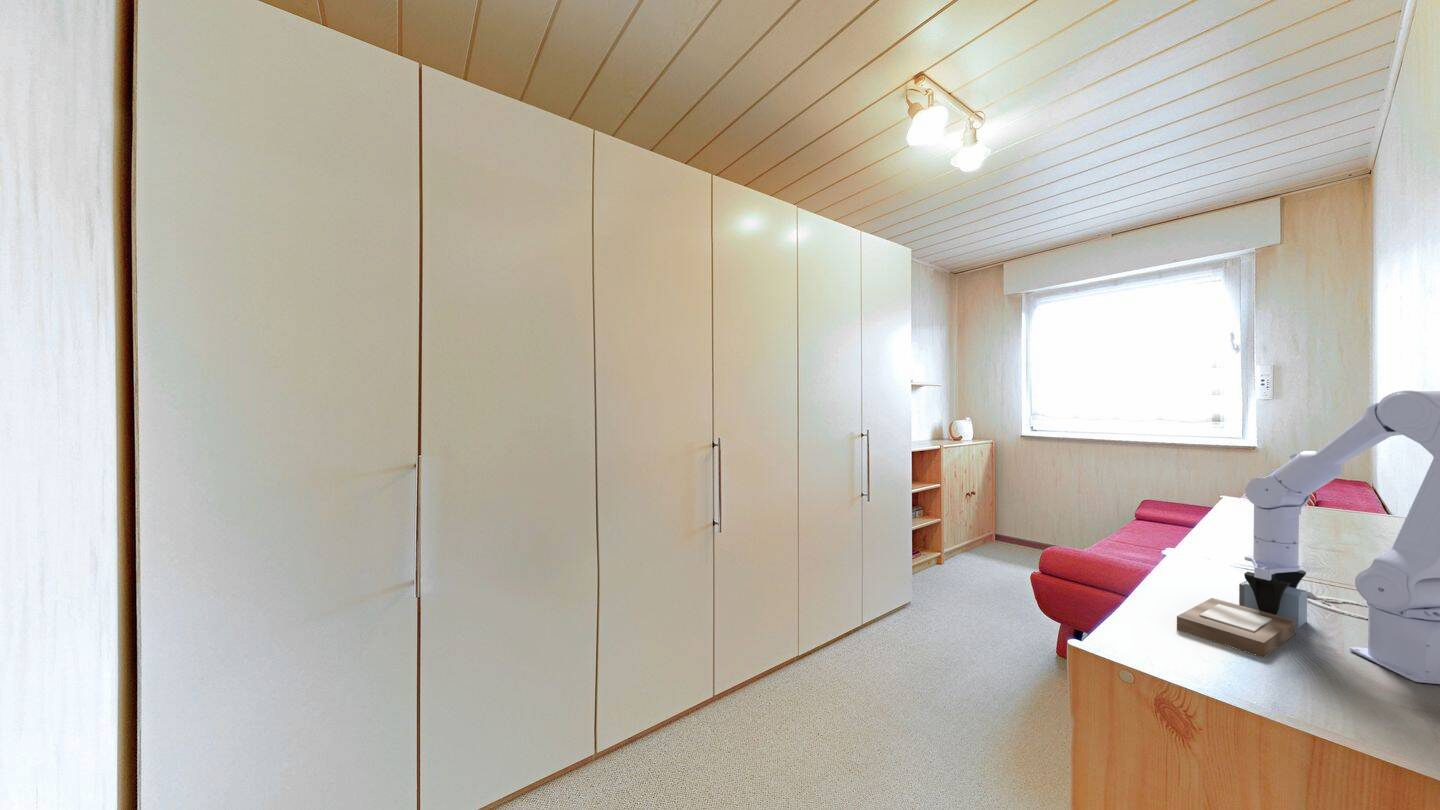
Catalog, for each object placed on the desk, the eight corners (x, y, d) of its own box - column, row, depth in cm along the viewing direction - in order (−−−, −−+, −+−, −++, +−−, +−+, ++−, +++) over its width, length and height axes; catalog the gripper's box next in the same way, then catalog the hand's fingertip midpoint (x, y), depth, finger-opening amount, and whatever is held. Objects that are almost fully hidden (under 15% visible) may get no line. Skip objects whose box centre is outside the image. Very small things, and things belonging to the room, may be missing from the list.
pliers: (1372, 615, 91) (1257, 587, 104) (1372, 623, 91) (1257, 594, 104) (1384, 603, 95) (1272, 578, 108) (1384, 611, 95) (1272, 585, 108)
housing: (1306, 622, 91) (1307, 590, 91) (1298, 628, 89) (1298, 596, 89) (1247, 606, 98) (1248, 577, 98) (1238, 611, 96) (1238, 582, 95)
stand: (1211, 610, 96) (1211, 596, 96) (1295, 633, 86) (1295, 618, 86) (1176, 629, 89) (1176, 614, 89) (1263, 657, 79) (1263, 641, 79)
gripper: (1258, 528, 99) (1258, 593, 100) (1232, 539, 93) (1231, 608, 93) (1311, 537, 93) (1310, 606, 94) (1287, 550, 86) (1286, 624, 87)
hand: (1274, 608), depth 93 cm, fingers open, 7 cm apart
